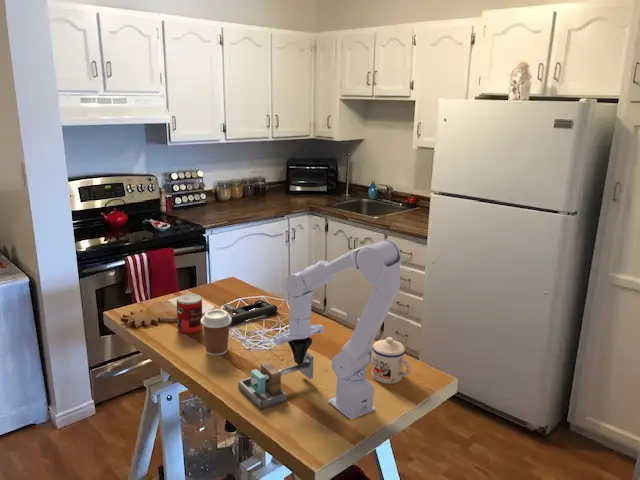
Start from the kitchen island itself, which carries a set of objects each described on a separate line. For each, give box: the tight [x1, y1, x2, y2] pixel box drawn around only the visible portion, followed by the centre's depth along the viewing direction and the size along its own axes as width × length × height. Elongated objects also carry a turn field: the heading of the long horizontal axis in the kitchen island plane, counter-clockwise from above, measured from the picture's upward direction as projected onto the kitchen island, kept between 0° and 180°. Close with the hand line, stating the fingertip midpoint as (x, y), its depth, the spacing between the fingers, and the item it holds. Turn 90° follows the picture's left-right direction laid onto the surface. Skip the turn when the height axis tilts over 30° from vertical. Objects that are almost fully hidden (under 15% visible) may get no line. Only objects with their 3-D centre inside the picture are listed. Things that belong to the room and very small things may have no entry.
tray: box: [237, 376, 288, 411], centre depth 137 cm, size 12×8×2 cm, turn 36°
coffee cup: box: [201, 309, 232, 357], centre depth 157 cm, size 9×9×12 cm
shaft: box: [251, 351, 315, 385], centre depth 139 cm, size 5×17×6 cm, turn 126°
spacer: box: [250, 368, 265, 395], centre depth 135 cm, size 5×2×5 cm, turn 36°
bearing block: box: [260, 361, 282, 396], centre depth 137 cm, size 6×2×7 cm, turn 36°
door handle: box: [223, 299, 278, 326], centre depth 187 cm, size 3×20×16 cm
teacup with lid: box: [371, 336, 412, 385], centre depth 146 cm, size 12×9×12 cm
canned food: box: [176, 293, 203, 335], centre depth 171 cm, size 8×8×11 cm
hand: (298, 362), depth 142 cm, fingers closed
